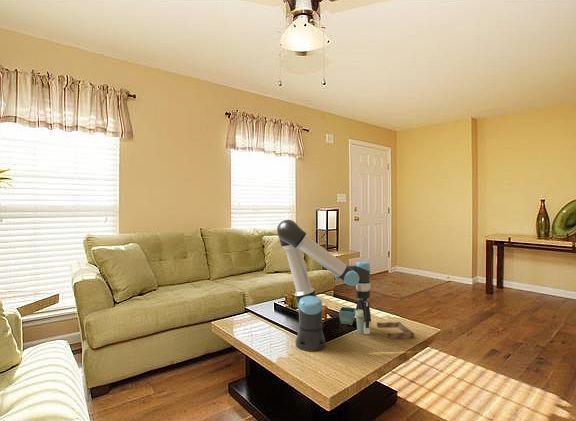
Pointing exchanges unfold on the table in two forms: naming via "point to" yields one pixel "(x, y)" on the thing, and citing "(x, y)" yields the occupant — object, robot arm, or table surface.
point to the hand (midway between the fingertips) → (363, 329)
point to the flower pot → (347, 315)
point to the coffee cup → (360, 321)
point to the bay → (405, 334)
